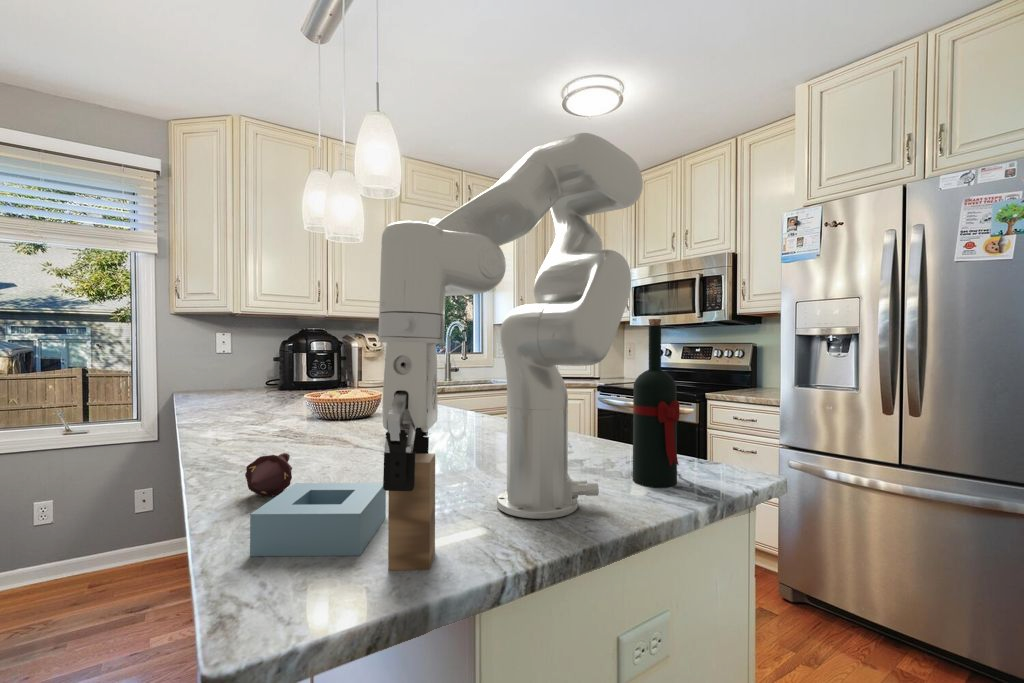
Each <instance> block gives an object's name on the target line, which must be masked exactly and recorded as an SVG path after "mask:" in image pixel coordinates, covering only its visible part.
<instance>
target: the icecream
mask: <svg viewBox="0 0 1024 683" xmlns="http://www.w3.org/2000/svg"><path fill="white" fill-rule="evenodd" d="M290 457H291V456H290V454H289V453H287V452H283V453H281V454H279V455H276V454H272V455H262V456H258V458H256V459H255V460H254V461H251V463H250V464H248V465H247V466H246V469H245V470H246V472H245V473H244V474H245V475H244V476H245V479H246V483H247V488H248V490H249V491H251V492H252V493H254V494H256V495H258V496H260V497H261V498H265V497H267V498H268V497H276V496H278V495H279V494H281V493H282V492H284V491H285V490H286V489H288V488H289V486H291V480H292V478H293V476H292V470H293V467H292V466H291V464H290V463H289V460H290Z"/></svg>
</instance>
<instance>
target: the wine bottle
mask: <svg viewBox="0 0 1024 683" xmlns="http://www.w3.org/2000/svg"><path fill="white" fill-rule="evenodd" d="M661 323H662V319H661V318H650V319H648V324H649V325H648V369H646V370H645V371H643V372H642V373H641V374H639V375H638V376H637V377H636V379H635V381H634V383H633V396H632V398H633V399H632V400H633V403H632V405H633V407H632V409H633V410H632V411H633V412H632V417H633V418H632V423H633V424H632V426H633V427H632V481H633V482H634V484H637V485H640V486H642V487H647V488H653V489H669V488H672V487H676V486H677V484H678V466H679V465H680V464H679V461H678V428H677V427H678V423H679V420H680V403H679V400H678V399H677V390H678V389H677V387H678V386H677V384H676V382H675V381H676V380H674V378H673V377H672V375H670V374H669V373H667V372H666V371H665V370H662V325H661Z"/></svg>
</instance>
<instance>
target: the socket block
mask: <svg viewBox="0 0 1024 683" xmlns="http://www.w3.org/2000/svg"><path fill="white" fill-rule="evenodd" d="M386 492H387V491H385V490H384V489H383V482H296V483H294V484H292V485H290V487H289V486H288V487H287V488H286V489H285V490H284V491H283V492H282V493H281V494H279V495H278V496H274V498H272V499H271V500H269V501H267V502H266V503H264V504H263V505H261V506H260V507H259V508H257V509H255V510H254V511H253V512H251V513H250V516H249V557H313V556H314V557H316V556H317V557H318V556H319V557H321V556H322V557H323V556H326V557H329V556H330V557H331V556H335V557H337V556H338V557H340V556H343V557H345V556H347V557H348V556H361V555H362V553H363V552H364V550H365V549H366V547H367V546H368V544H369V543H370V541H371V540H372V538H373V536H374V535H375V533H377V531H378V529H379V528H380V526H381V525H382V523H383V522H384V521H385V518H386V516H387V513H386V511H387V509H386V508H387V507H386V506H387V505H386V503H387V502H386V501H387V500H386V498H387V494H386Z"/></svg>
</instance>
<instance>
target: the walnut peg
mask: <svg viewBox="0 0 1024 683" xmlns="http://www.w3.org/2000/svg"><path fill="white" fill-rule="evenodd" d="M387 519H388V532H387V533H388V535H387V536H388V537H387V538H388V545H387V546H388V547H387V548H388V550H387V551H388V552H387V555H388V560H387V564H388V565H387V566H388V567H387V568H388V569H387V570H388V571H426V570H427V571H430V570H431V566H432V563H433V559H434V557H435V554H436V453H429V452H428V454H415V486H414V489H413V490H412V491H388V518H387Z"/></svg>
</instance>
